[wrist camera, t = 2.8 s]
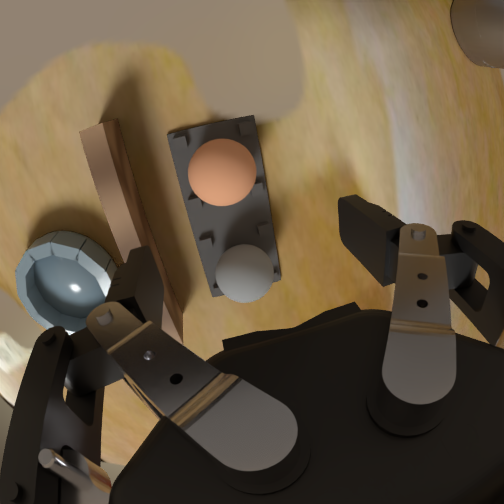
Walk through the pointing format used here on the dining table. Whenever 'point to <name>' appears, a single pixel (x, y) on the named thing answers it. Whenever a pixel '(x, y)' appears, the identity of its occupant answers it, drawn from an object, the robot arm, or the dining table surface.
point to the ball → (222, 172)
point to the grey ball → (244, 273)
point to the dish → (64, 279)
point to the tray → (232, 216)
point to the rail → (126, 207)
